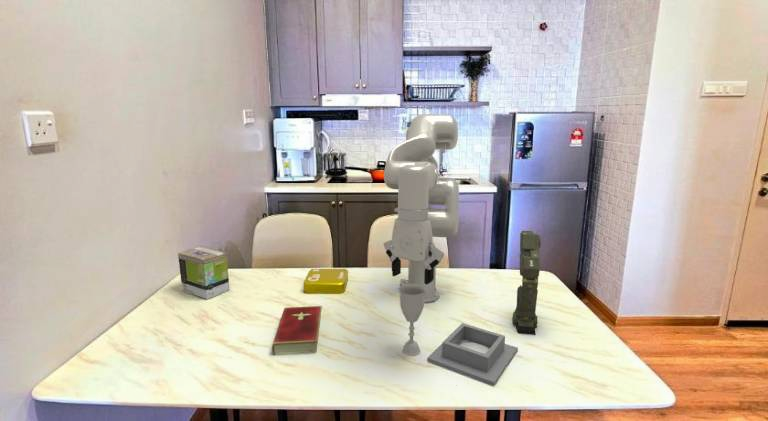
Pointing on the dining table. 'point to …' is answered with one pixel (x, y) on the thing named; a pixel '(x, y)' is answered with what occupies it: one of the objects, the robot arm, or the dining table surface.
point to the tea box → (204, 272)
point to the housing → (474, 353)
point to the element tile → (326, 281)
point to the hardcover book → (298, 330)
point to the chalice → (411, 312)
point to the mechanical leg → (527, 284)
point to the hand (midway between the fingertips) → (412, 278)
